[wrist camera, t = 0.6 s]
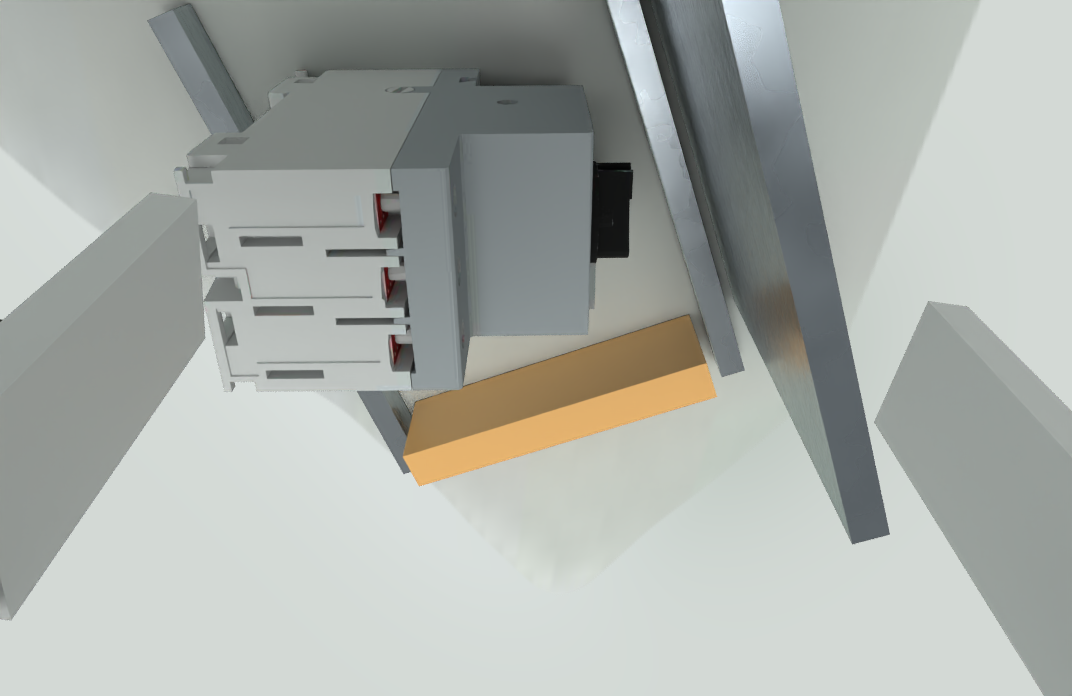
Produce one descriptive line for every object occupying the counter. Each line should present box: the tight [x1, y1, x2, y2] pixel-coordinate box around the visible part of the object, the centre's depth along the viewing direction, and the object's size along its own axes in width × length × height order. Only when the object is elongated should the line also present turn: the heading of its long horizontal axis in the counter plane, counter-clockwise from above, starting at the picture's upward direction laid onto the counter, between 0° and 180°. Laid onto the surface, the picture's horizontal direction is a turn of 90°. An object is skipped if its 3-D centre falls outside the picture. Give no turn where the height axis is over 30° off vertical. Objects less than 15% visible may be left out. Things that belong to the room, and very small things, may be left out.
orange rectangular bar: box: [403, 315, 717, 486], centre depth 42 cm, size 2×16×5 cm, turn 111°
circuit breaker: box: [173, 69, 633, 392], centre depth 32 cm, size 8×14×15 cm, turn 91°
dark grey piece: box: [147, 0, 890, 544], centre depth 31 cm, size 25×21×18 cm
